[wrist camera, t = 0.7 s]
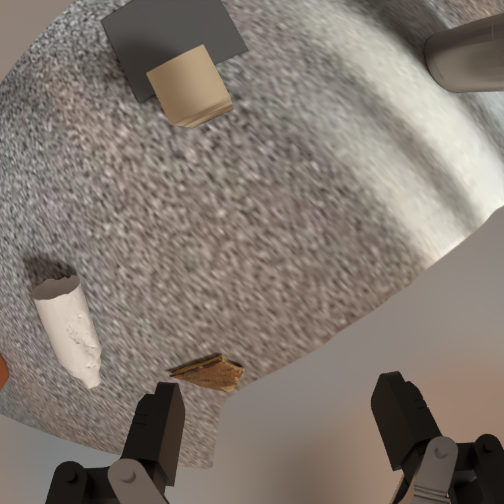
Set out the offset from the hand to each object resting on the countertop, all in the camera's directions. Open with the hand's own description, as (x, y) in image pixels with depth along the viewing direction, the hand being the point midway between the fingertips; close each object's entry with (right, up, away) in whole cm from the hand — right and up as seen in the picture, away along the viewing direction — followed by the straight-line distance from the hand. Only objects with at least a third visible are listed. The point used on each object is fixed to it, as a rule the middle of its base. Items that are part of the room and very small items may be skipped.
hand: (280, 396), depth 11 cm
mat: (-11, +32, +17) cm, 38 cm away
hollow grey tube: (-28, -5, +32) cm, 42 cm away
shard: (-8, -15, +37) cm, 40 cm away
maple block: (-7, +23, +20) cm, 31 cm away
